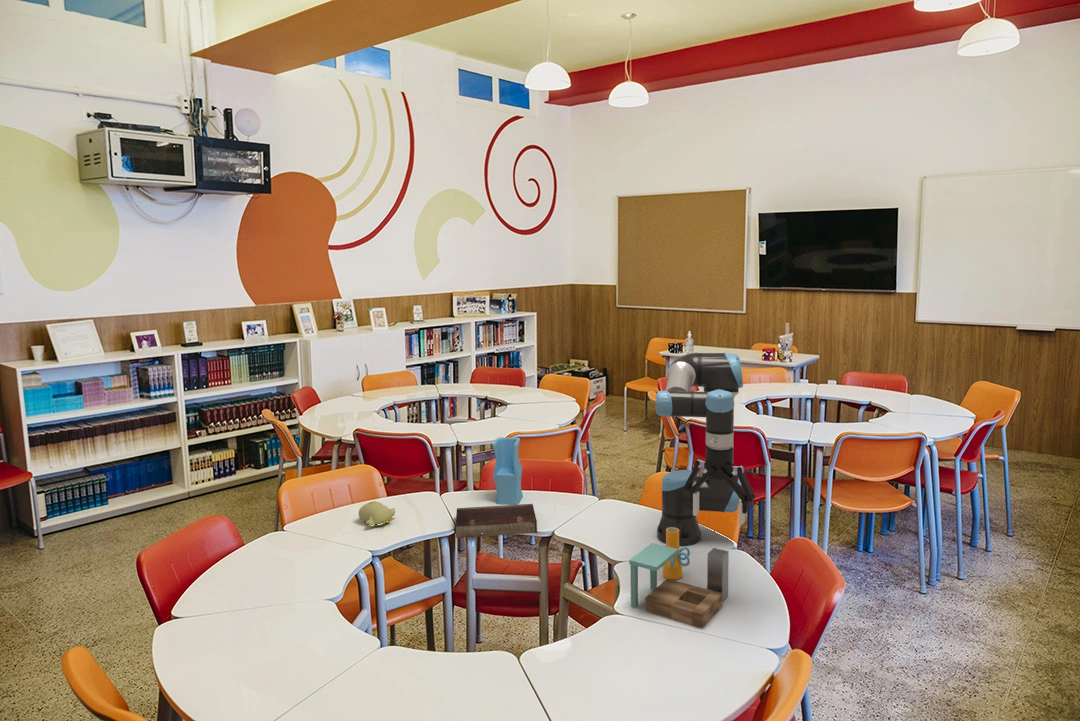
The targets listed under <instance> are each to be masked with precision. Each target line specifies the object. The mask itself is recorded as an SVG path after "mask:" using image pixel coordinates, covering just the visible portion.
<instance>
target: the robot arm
mask: <svg viewBox="0 0 1080 721" xmlns="http://www.w3.org/2000/svg"><path fill="white" fill-rule="evenodd" d="M741 364H742V363H741V359H740V356H739V355H738V354H737V353H733V352H732V353H730V352H729V353H728V352H692V353H687V354H684V355H682V356H679V357H678V358H676V359H675V360H673V361H671V363H670V365H669V366H668V368H667V371H666V379H667V383H666V386H665V389H664V390H658V391H657V392H656V394H655V412H656V415H658V416H661V417H668V418H671V417H676V418H677V417H679V418H681V417H682V418H705V445H706V446H705V460H702V459H701V458H698V459H697V460H695V461H694V464H693V469H692V470H690V469H678V470H673V471H670V472H668V473H665V475H664V476H663V477H662V482H661V488H660V489H661V517H660V520H659V523H658V526H657V529H656V538H657V539H658V540H659V541H661V542H662V543H664V544H666V529H667V528H669V527H675V528H678V529H679V547H680V546H683V547H684V546H691V545H694V544H697V543H699V542H700V541H701V539H702V532H701V529H700V525H699V521H698V519H697V516H698V515H699V514H700V511H703V512H720V513H723V514H724V513H735V512H737V511H738V525H739V526H742V525H744V523H745V522H746V514H747V513H749V502H753V501H754V500H756V495H755V492H754V490H753V488H752V486H751V484H750V481H749V479H748V477H747V475H746V471H745V470H746V469H745V465H740V466H736V465H734V436H735V435H734V431H735V430H734V427H735V425H734V422H735V421H734V418H735V415H734V414H735V413H734V412H735V397H736V396H737V395H738V394H739V389H742V388H743V387H744V382H743V372H742V371H743V370H742V365H741ZM692 387H698V388H699V387H700V388H703V391H695V390H694V391H692V390H691V389H692ZM703 467H704V469H703V470H702V475H700V476H699V472H700V470H701V469H702V468H703Z"/></svg>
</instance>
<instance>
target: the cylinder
mask: <svg viewBox="0 0 1080 721" xmlns="http://www.w3.org/2000/svg"><path fill="white" fill-rule="evenodd" d="M665 546H667V547H672V548H676V549H678V554H677V555H675V556H674V557H673V558H672V559H671V560H669V561H668V562H667V563H666V564H665V565H663V566H662V576H663V577H664V578H665V579H667V578H668V579H671V580H675V581H676V580H680V579H681V578H682V577H683V567H688V566H689V565H690V563H691V559H690V554H691V550H690V549H689V548H690V547H689V548H688V546H683V547H680V545H679V529H678V528H675V527H669V528H667V529H666V543H665ZM684 550H685V551H686V552H687V553H686V552H684ZM682 556H683V557H682ZM685 560H686V563H683V562H682V561H685Z"/></svg>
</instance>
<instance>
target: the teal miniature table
mask: <svg viewBox="0 0 1080 721" xmlns="http://www.w3.org/2000/svg"><path fill="white" fill-rule="evenodd" d="M677 554H678V549H676V548H672V547H667V546H666V545H662V544H659V543H653V542H650V544H649V545H647V546H646V547H644V548H643V549H642V550H640V551H639V552H638V553H637V554H635V555H633V557H631V558H630V559H629V561H628V565H630V607H633V608H637V607H638V606H639V568H643V569H646V570H649V575H650V576H649V577H650V578H649V587H650V590H652V591H654V590H655V589H656V588H657V587H658V571H659V570H660V569H661V568H663V565H665V564H666V563H667V562H668V561H669V560H671V559H672V558H673V557H674V556H675V555H677Z"/></svg>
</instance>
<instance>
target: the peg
mask: <svg viewBox="0 0 1080 721" xmlns="http://www.w3.org/2000/svg"><path fill="white" fill-rule="evenodd" d="M729 553H730V552H729V550H725V549H720V548H718V547H717V548H716V547H713V548H712V549H710V551H708V552H707V570H706V572H707V575H706V576H707V578H706V579H707V580H706V583H707V584H706V586H707V587H706V589H709V590H712V591H716V592H720V593H722V604H723V603H724V602H725V601H726V600H727V598H728V597H729V558H730V556H729V555H730V554H729Z"/></svg>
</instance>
